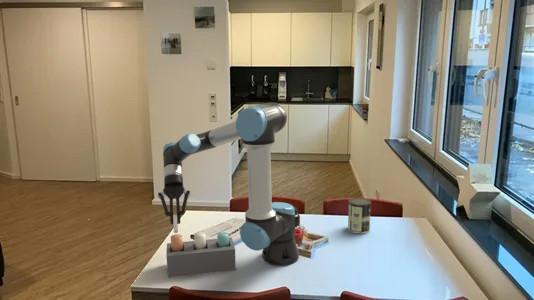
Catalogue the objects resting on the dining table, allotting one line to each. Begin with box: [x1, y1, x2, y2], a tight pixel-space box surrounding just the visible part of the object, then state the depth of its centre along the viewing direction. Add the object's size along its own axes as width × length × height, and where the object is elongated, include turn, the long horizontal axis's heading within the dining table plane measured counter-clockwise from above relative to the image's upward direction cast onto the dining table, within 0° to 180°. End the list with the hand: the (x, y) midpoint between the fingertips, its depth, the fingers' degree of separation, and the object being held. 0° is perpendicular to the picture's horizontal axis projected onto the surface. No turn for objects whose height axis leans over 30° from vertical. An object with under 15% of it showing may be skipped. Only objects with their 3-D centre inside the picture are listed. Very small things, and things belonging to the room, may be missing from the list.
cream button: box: [193, 231, 207, 250], centre depth 176 cm, size 4×4×6 cm
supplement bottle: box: [293, 206, 301, 227], centre depth 208 cm, size 7×7×12 cm
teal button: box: [216, 231, 230, 248], centre depth 178 cm, size 4×4×6 cm
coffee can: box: [347, 197, 372, 234], centre depth 211 cm, size 10×10×14 cm
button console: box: [165, 237, 237, 278], centre depth 178 cm, size 26×11×9 cm, turn 101°
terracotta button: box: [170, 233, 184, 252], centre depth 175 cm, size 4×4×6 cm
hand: (175, 231), depth 174 cm, fingers closed
